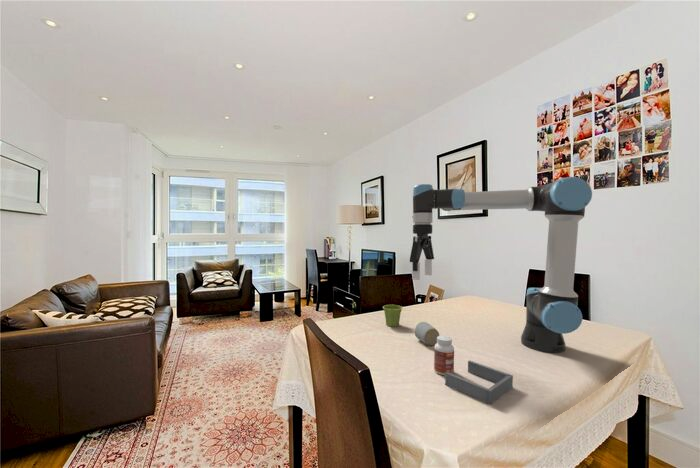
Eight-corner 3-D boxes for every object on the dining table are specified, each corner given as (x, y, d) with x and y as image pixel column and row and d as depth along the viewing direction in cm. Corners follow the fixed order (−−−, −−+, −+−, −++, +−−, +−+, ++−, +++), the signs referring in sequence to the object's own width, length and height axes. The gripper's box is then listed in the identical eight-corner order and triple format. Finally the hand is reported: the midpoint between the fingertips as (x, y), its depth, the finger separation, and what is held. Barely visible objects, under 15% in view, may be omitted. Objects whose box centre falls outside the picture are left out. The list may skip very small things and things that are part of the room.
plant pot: (390, 329, 143) (390, 310, 142) (378, 323, 151) (379, 305, 151) (406, 326, 147) (406, 308, 147) (394, 321, 155) (394, 303, 155)
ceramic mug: (424, 347, 121) (425, 328, 121) (413, 340, 128) (414, 322, 128) (447, 345, 124) (448, 326, 124) (435, 338, 132) (436, 320, 132)
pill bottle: (448, 378, 96) (448, 342, 96) (430, 371, 101) (430, 337, 100) (457, 371, 101) (457, 338, 100) (440, 365, 105) (440, 333, 105)
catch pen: (445, 384, 92) (445, 373, 92) (469, 370, 101) (469, 360, 101) (490, 404, 82) (490, 391, 82) (512, 387, 91) (512, 375, 91)
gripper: (424, 224, 135) (424, 272, 135) (400, 223, 114) (400, 280, 115) (441, 224, 131) (441, 274, 131) (420, 223, 110) (420, 282, 110)
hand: (422, 277), depth 123 cm, fingers open, 13 cm apart
